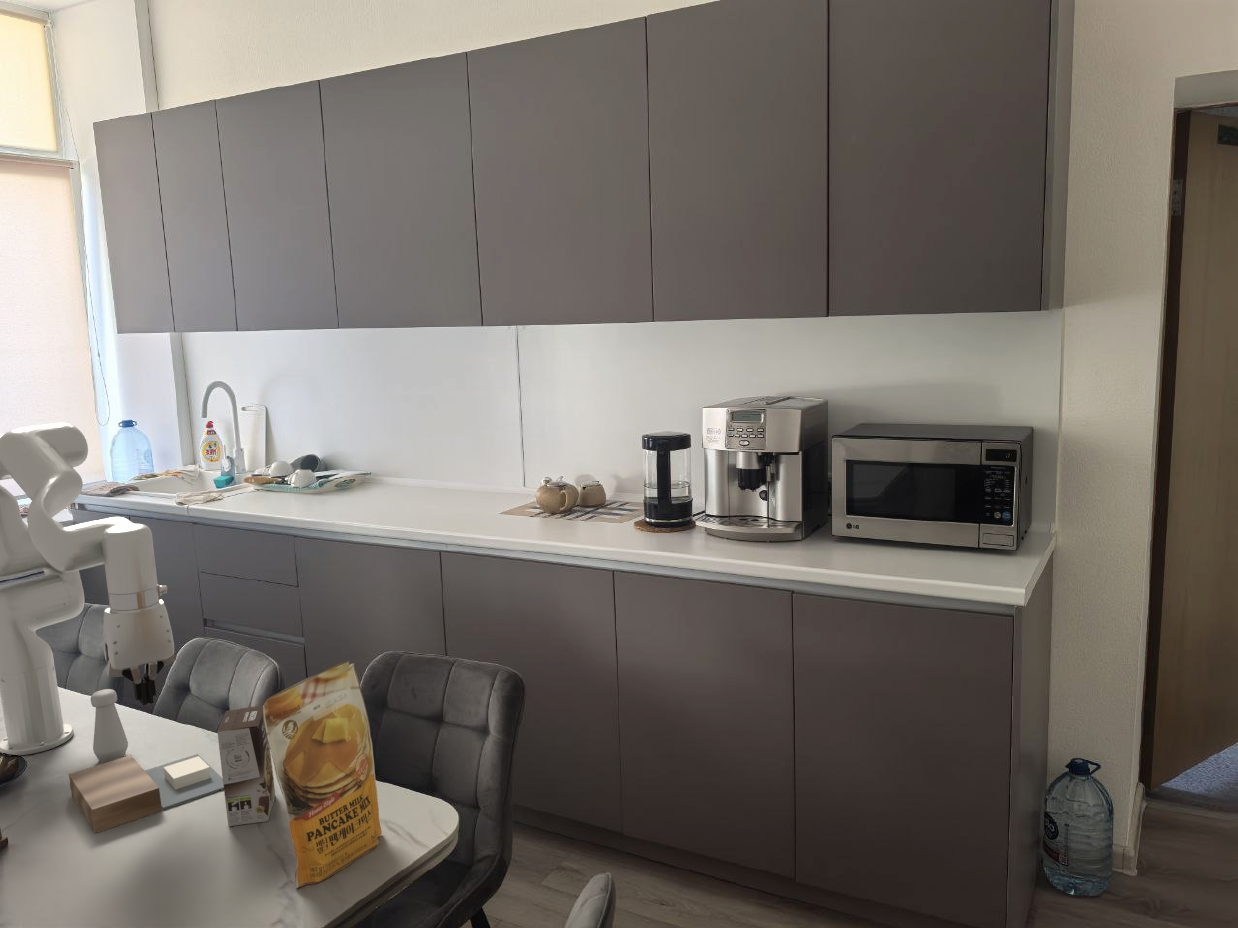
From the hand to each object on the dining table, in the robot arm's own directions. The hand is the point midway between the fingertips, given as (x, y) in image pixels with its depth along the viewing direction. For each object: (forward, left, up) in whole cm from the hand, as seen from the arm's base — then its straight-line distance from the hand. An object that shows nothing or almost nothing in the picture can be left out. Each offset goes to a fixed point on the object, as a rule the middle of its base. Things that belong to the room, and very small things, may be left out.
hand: (146, 701), depth 170 cm
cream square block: (+1, +5, -14) cm, 15 cm away
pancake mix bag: (+44, +13, -16) cm, 48 cm away
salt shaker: (-19, -3, -16) cm, 25 cm away
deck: (+1, -7, -16) cm, 17 cm away
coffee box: (+20, +9, -16) cm, 27 cm away
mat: (+1, +4, -16) cm, 16 cm away
